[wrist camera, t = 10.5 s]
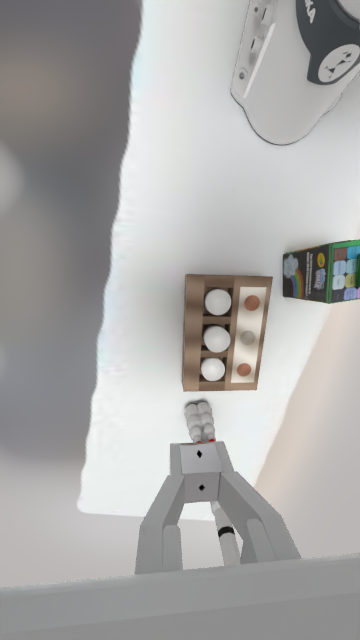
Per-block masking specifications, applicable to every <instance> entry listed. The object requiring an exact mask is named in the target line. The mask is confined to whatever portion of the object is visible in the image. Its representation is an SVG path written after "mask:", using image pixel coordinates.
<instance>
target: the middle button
mask: <svg viewBox="0 0 360 640" xmlns="http://www.w3.org/2000/svg"><path fill="white" fill-rule="evenodd" d="M202 338H203V341H204V343H205V344H206V346H207V348H208V349H209V350H210V351H212V352H216V353H218V352H222V351H224V350H226V349H227V348H228V346H229V344H230V335H229V333H228V332H227V331H226V330H225V329H224V328H223V327H221V326H220V325H217V324H213V325H210V326H208V327H206V328H205V330H204V331H203V335H202Z"/></svg>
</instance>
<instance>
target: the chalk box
mask: <svg viewBox="0 0 360 640" xmlns="http://www.w3.org/2000/svg"><path fill="white" fill-rule="evenodd" d="M283 259H284V260H283V261H284V262H283V296H284V297H291V298H297V299H303V300H310V301H316V302H323V303H328V304H330V303H336V302H343V301H350V300H357V299H360V240H352V241H351V240H348V241H341V242H334V243H329V244H325V245H320V246H316V247H312V248H307V249H303V250H299V251H295V252H290V253H286V254H284V258H283Z"/></svg>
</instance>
